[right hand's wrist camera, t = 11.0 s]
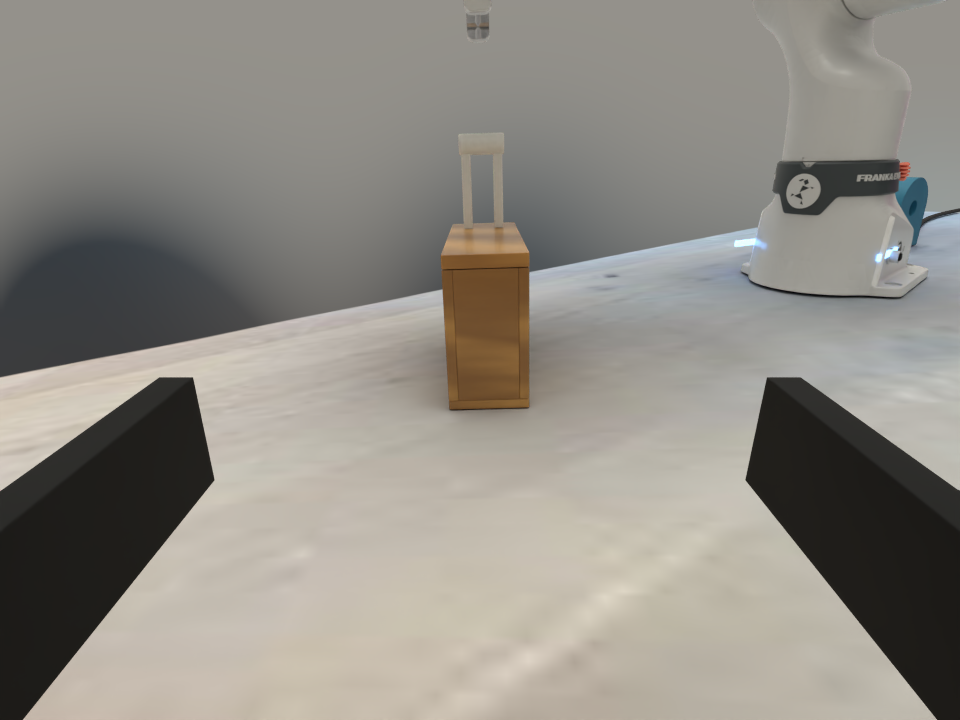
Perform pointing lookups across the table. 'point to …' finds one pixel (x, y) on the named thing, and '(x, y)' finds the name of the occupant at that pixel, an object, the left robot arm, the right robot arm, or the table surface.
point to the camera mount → (913, 202)
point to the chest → (487, 337)
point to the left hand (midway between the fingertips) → (478, 28)
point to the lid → (483, 240)
